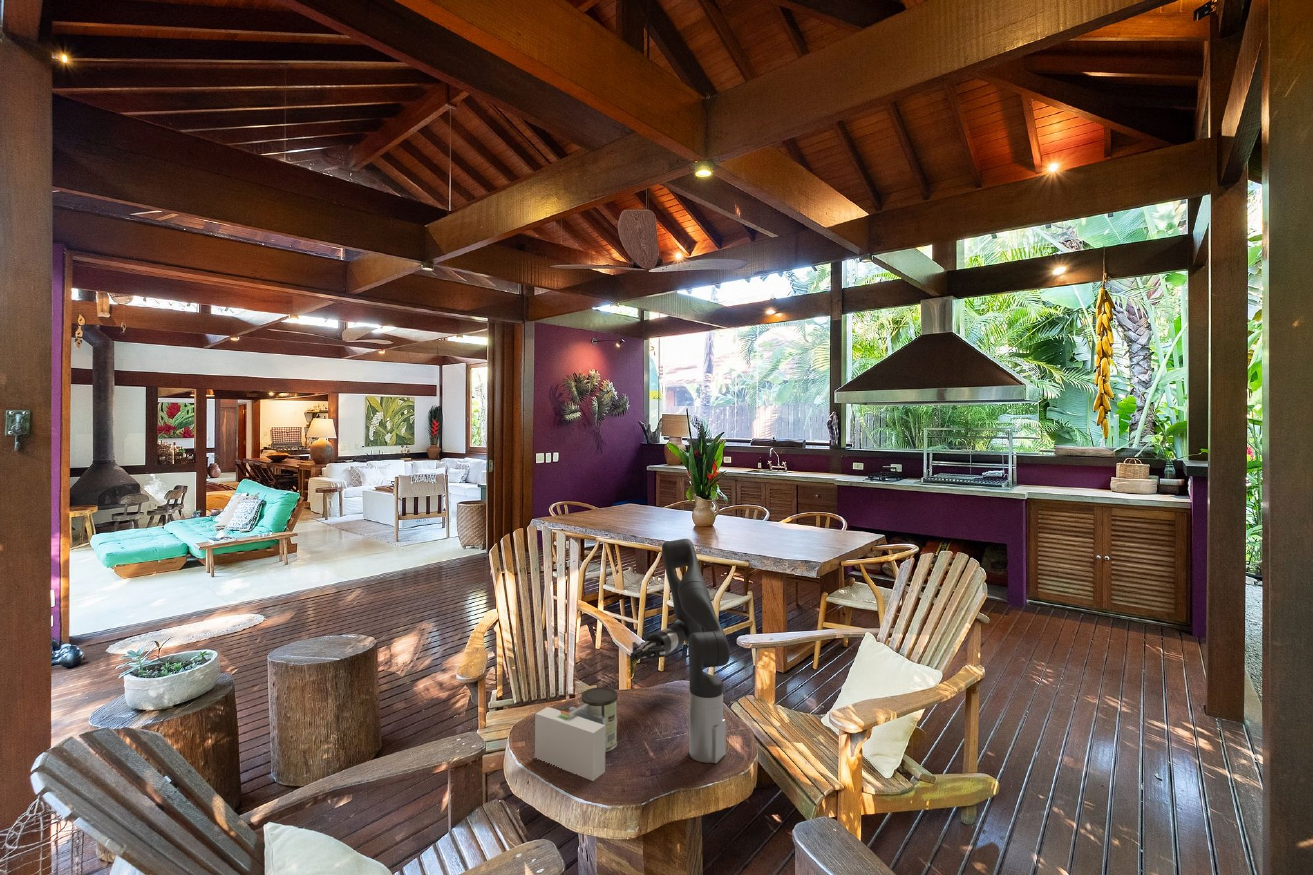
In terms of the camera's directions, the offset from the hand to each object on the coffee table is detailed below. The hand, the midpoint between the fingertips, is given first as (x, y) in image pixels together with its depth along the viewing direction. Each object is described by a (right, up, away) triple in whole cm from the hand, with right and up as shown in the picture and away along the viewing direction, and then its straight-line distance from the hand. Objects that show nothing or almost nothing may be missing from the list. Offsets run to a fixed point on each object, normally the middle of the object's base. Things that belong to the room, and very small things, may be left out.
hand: (633, 657), depth 181 cm
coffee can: (-9, -20, -14) cm, 26 cm away
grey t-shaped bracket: (-14, -17, -22) cm, 31 cm away
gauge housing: (-16, -19, -25) cm, 35 cm away
